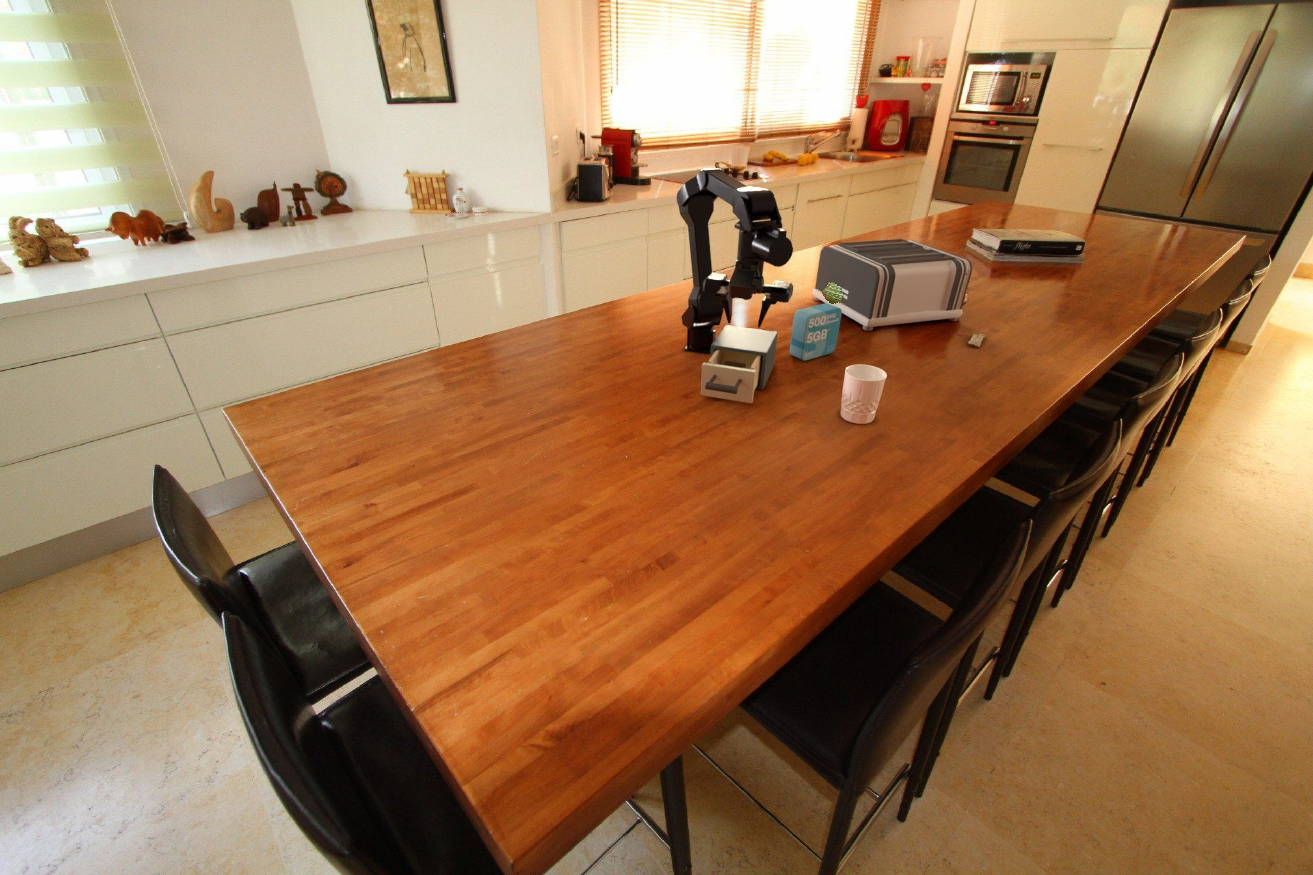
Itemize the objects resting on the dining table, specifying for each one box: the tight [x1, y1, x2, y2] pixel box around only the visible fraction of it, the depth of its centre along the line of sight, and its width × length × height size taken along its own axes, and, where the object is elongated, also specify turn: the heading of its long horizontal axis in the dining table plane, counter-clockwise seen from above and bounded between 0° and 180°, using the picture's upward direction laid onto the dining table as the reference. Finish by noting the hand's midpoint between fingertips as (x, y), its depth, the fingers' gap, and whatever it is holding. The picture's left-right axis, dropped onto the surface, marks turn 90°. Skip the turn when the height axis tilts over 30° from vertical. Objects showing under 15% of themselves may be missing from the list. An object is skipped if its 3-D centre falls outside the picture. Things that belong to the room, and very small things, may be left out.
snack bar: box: [967, 333, 986, 348], centre depth 157 cm, size 10×2×3 cm
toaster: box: [812, 238, 973, 331], centre depth 176 cm, size 31×36×18 cm
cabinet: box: [709, 324, 779, 391], centre depth 137 cm, size 14×12×9 cm
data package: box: [789, 302, 843, 362], centre depth 147 cm, size 12×4×12 cm, turn 122°
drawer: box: [700, 349, 763, 404], centre depth 127 cm, size 18×11×7 cm, turn 160°
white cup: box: [839, 364, 888, 425], centre depth 120 cm, size 8×8×10 cm
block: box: [724, 361, 746, 368], centre depth 129 cm, size 4×4×4 cm
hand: (744, 325), depth 132 cm, fingers open, 6 cm apart
